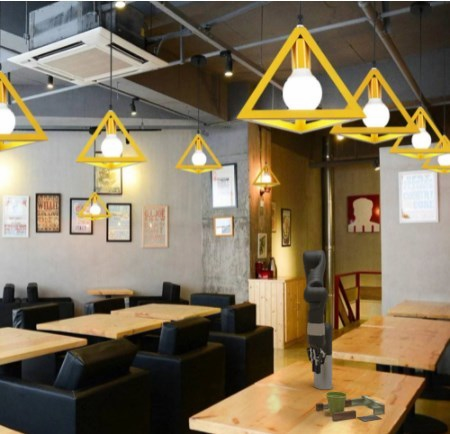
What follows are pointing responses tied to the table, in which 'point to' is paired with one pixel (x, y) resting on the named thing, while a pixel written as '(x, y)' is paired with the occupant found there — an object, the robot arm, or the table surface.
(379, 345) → the table surface
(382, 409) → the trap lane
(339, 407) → the plant pot
